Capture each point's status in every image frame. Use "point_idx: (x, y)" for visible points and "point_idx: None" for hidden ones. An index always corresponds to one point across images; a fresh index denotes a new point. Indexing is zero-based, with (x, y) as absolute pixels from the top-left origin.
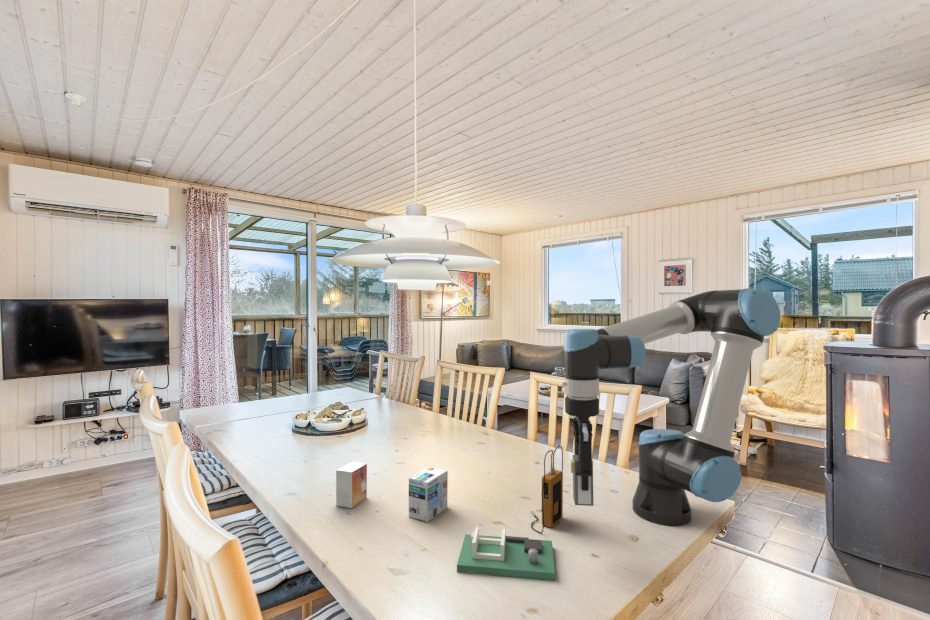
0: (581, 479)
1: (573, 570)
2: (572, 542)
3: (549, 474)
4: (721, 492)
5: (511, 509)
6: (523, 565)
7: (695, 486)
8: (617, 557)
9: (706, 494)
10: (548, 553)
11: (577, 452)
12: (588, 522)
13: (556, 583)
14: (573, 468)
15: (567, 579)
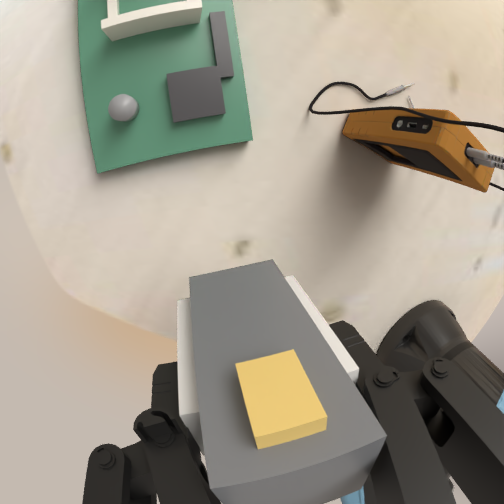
0: (174, 406)
1: (157, 206)
2: (287, 191)
3: (470, 143)
4: None
5: (402, 41)
6: (104, 90)
7: None
8: None
9: None
10: (182, 139)
11: (390, 468)
12: (382, 223)
13: (93, 176)
14: (243, 403)
15: (116, 197)
